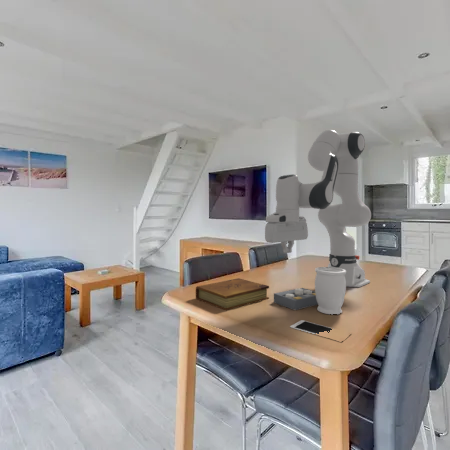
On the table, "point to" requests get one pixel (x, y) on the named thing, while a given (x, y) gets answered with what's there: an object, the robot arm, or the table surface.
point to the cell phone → (310, 327)
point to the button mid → (299, 292)
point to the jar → (330, 289)
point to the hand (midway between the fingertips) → (287, 252)
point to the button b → (307, 291)
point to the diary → (232, 293)
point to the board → (296, 299)
